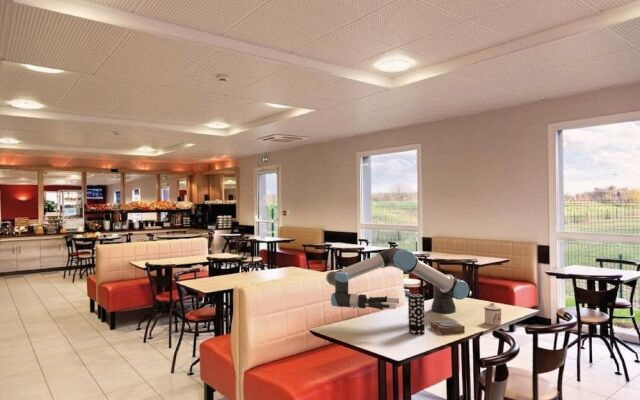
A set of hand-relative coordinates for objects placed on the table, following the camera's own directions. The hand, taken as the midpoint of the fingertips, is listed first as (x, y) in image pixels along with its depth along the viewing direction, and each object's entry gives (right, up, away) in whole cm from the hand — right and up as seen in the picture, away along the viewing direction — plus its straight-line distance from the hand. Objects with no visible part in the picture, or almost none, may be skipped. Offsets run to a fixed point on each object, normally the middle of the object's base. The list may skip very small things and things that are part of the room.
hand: (397, 303), depth 230 cm
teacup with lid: (+59, -15, +14) cm, 62 cm away
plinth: (+27, -15, +1) cm, 31 cm away
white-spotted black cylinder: (+10, -15, -3) cm, 18 cm away
